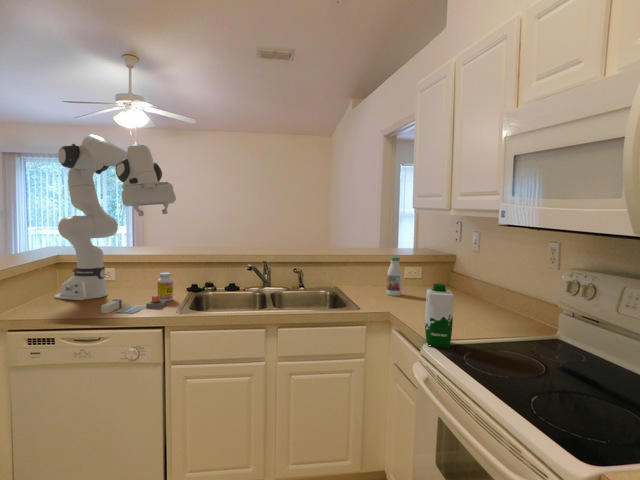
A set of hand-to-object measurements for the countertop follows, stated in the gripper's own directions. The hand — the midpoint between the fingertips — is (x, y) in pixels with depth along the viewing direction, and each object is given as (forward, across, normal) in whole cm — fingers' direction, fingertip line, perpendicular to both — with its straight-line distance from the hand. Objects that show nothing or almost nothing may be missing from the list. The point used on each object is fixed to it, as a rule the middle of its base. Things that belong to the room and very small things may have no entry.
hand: (153, 214), depth 157 cm
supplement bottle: (+32, -9, -35) cm, 48 cm away
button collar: (+35, -2, -26) cm, 43 cm away
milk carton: (+75, -56, +73) cm, 119 cm away
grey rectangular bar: (+32, +15, -31) cm, 47 cm away
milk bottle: (+60, -106, +20) cm, 124 cm away
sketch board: (+34, +8, -26) cm, 44 cm away
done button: (+33, -2, -25) cm, 41 cm away
